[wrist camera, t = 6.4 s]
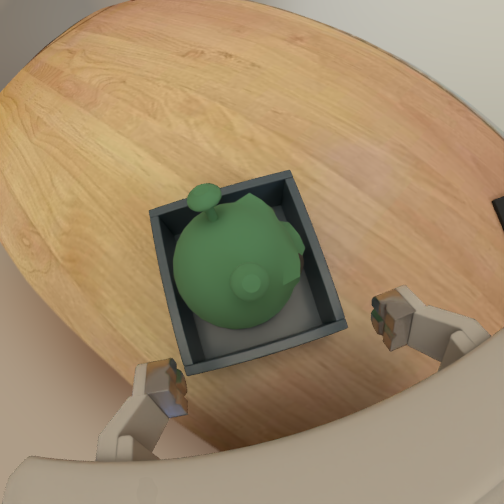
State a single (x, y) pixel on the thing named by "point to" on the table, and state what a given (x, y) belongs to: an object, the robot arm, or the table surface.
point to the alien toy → (236, 260)
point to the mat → (499, 209)
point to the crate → (276, 328)
